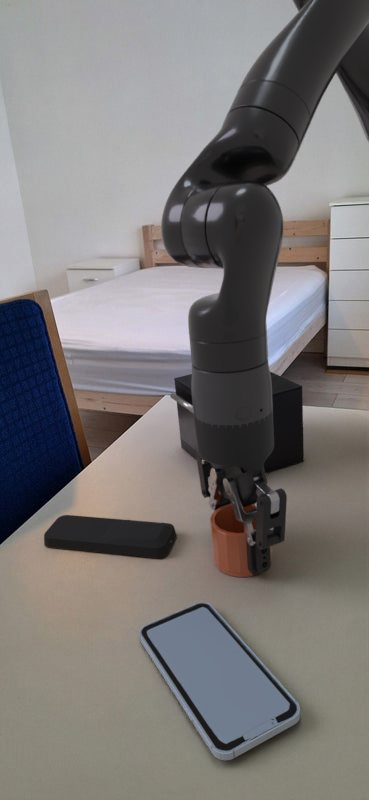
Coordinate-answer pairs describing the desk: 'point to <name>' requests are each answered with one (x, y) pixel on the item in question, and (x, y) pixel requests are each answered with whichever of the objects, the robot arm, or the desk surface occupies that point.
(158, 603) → the desk surface
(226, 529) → the cup
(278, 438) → the toaster oven
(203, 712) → the smartphone
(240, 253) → the robot arm
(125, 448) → the desk surface
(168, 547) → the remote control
